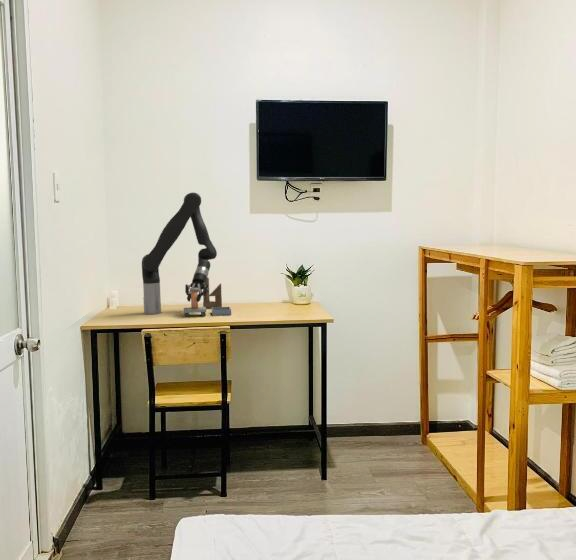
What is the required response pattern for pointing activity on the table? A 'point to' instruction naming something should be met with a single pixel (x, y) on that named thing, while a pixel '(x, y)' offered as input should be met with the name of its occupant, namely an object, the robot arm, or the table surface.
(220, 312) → the tray
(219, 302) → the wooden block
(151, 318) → the table surface
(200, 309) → the trolley
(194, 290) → the stop pin
